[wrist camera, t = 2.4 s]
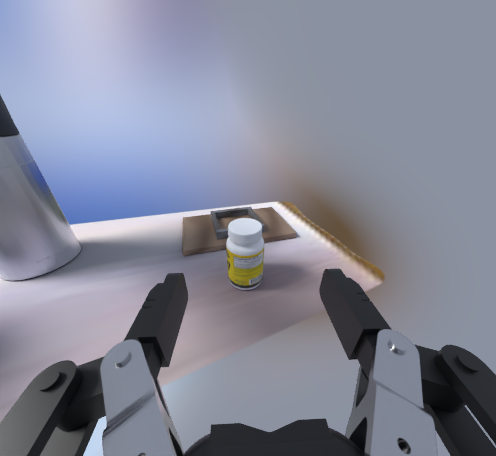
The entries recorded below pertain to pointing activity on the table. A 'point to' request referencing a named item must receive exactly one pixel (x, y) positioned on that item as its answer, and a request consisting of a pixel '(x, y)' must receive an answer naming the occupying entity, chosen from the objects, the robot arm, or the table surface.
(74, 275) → the table surface
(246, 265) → the supplement bottle
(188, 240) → the seat board
